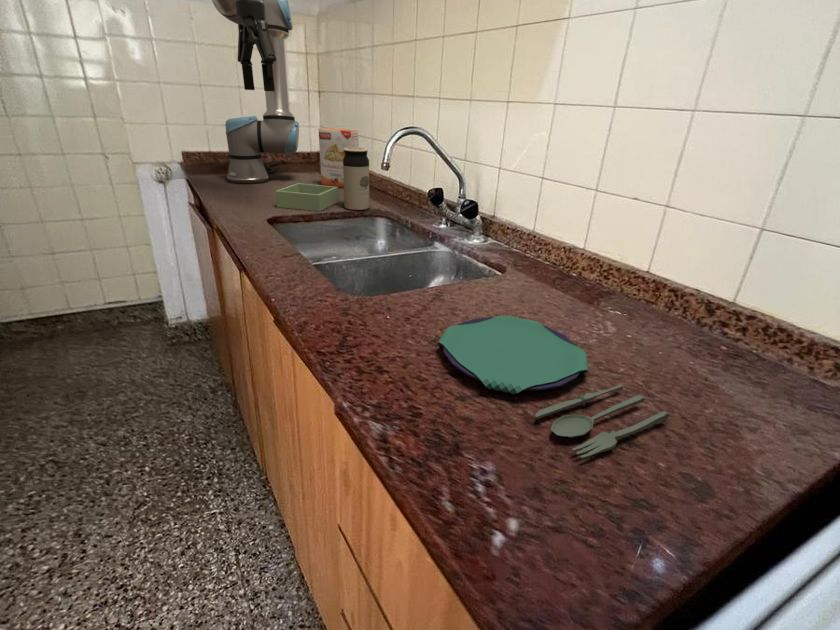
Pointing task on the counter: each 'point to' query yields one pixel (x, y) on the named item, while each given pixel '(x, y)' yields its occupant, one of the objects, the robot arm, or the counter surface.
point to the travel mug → (356, 178)
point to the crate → (307, 197)
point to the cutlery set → (534, 371)
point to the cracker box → (334, 153)
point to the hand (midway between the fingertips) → (259, 90)
